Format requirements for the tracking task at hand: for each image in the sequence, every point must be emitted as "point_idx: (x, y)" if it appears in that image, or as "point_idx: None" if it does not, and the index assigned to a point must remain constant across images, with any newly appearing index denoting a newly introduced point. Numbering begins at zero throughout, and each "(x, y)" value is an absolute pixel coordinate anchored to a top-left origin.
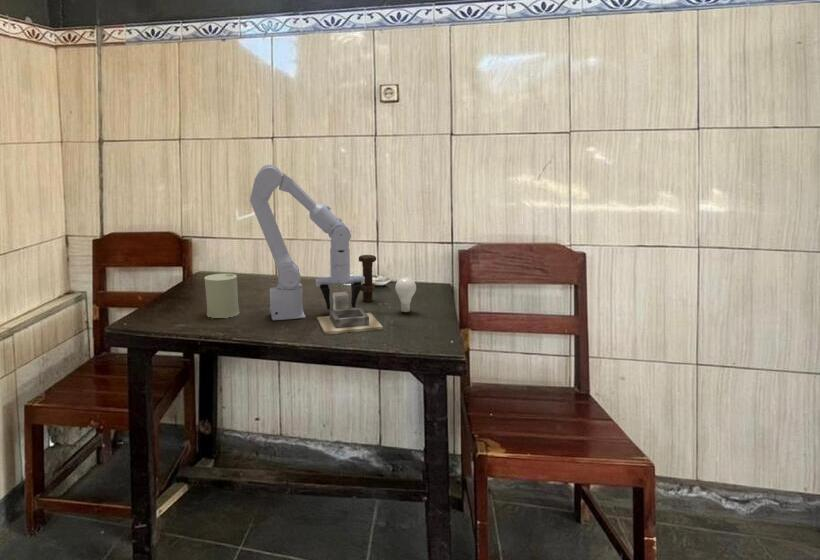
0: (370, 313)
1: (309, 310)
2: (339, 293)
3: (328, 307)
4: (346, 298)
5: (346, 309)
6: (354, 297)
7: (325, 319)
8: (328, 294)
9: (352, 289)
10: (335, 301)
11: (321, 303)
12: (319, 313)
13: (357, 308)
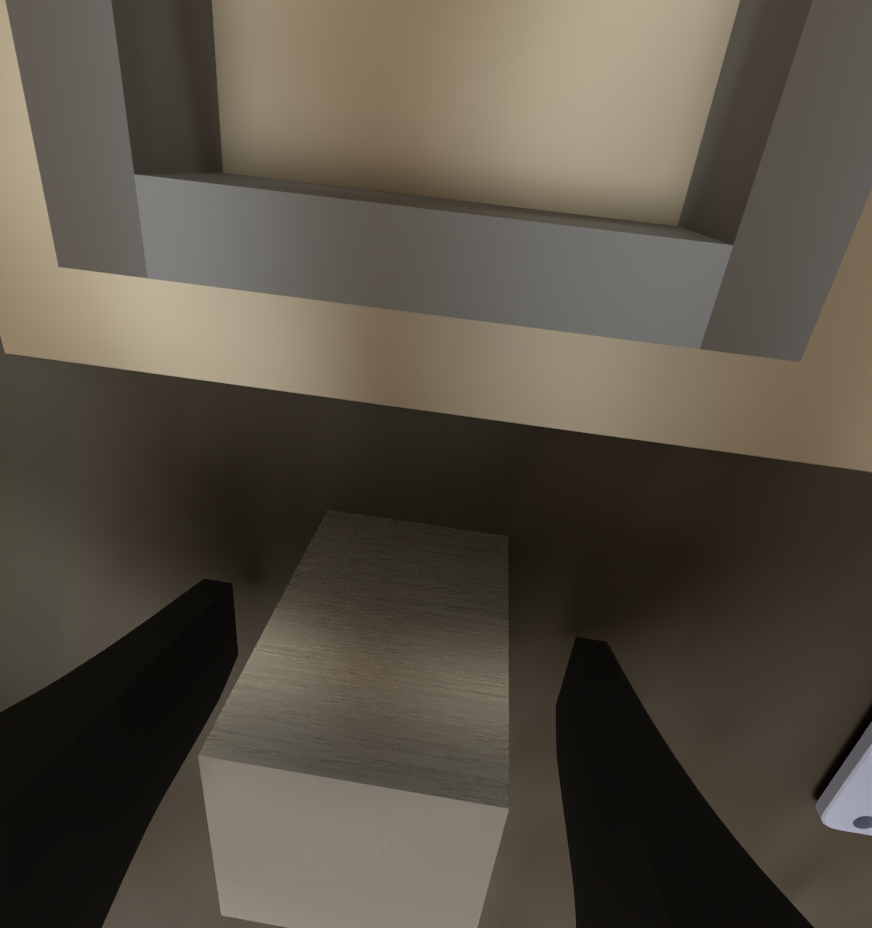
0: (4, 312)
1: (718, 792)
2: (361, 893)
3: (608, 659)
4: (274, 698)
5: (406, 273)
6: (108, 689)
7: (838, 278)
8: (685, 891)
9: (50, 916)
10: (507, 695)
11: (501, 896)
12: (669, 671)
13: (148, 257)
